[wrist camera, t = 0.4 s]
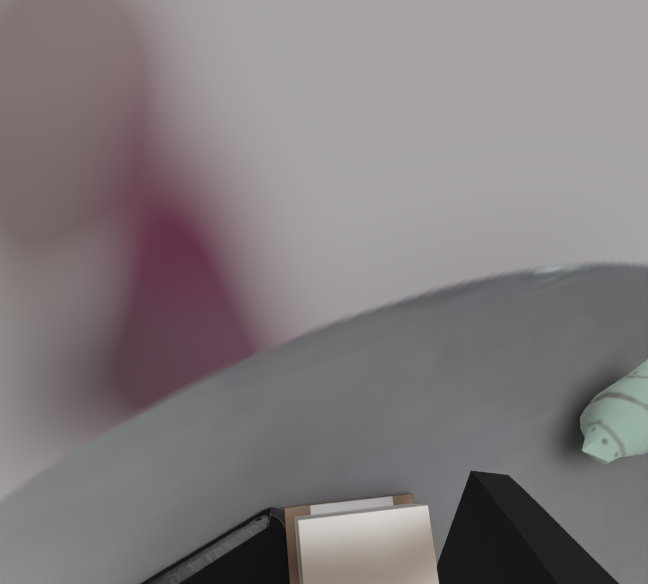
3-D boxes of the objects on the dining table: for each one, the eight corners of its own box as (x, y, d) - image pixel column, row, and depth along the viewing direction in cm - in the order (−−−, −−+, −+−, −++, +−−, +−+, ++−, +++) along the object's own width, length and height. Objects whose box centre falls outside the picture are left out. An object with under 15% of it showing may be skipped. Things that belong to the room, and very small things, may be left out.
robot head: (601, 364, 41) (664, 341, 34) (647, 404, 40) (720, 389, 34) (536, 447, 38) (591, 439, 32) (584, 492, 38) (650, 493, 31)
